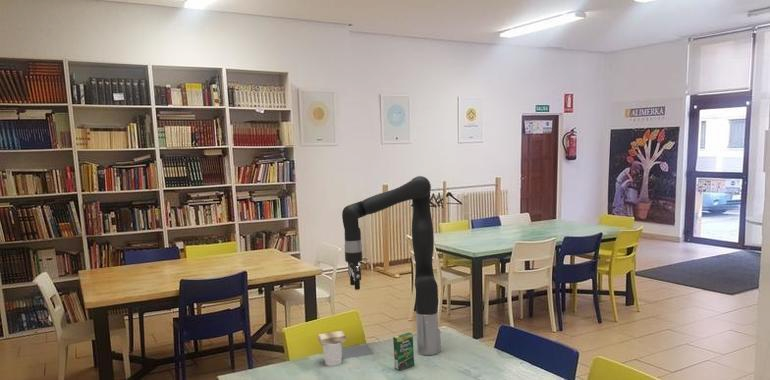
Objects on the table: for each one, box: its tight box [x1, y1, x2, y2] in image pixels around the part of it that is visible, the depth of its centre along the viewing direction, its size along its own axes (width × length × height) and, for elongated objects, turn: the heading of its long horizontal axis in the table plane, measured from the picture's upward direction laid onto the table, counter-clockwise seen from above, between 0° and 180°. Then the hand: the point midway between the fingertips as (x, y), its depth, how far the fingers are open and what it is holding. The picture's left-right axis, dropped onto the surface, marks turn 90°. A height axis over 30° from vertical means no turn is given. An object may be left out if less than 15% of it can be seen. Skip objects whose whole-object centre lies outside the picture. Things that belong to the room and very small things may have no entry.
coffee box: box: [392, 332, 415, 372], centre depth 193 cm, size 8×3×13 cm, turn 122°
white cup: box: [322, 342, 343, 367], centre depth 199 cm, size 8×8×10 cm
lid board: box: [317, 330, 347, 347], centre depth 199 cm, size 10×6×2 cm, turn 108°
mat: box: [342, 344, 375, 360], centre depth 210 cm, size 14×12×1 cm
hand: (355, 287), depth 212 cm, fingers open, 8 cm apart
